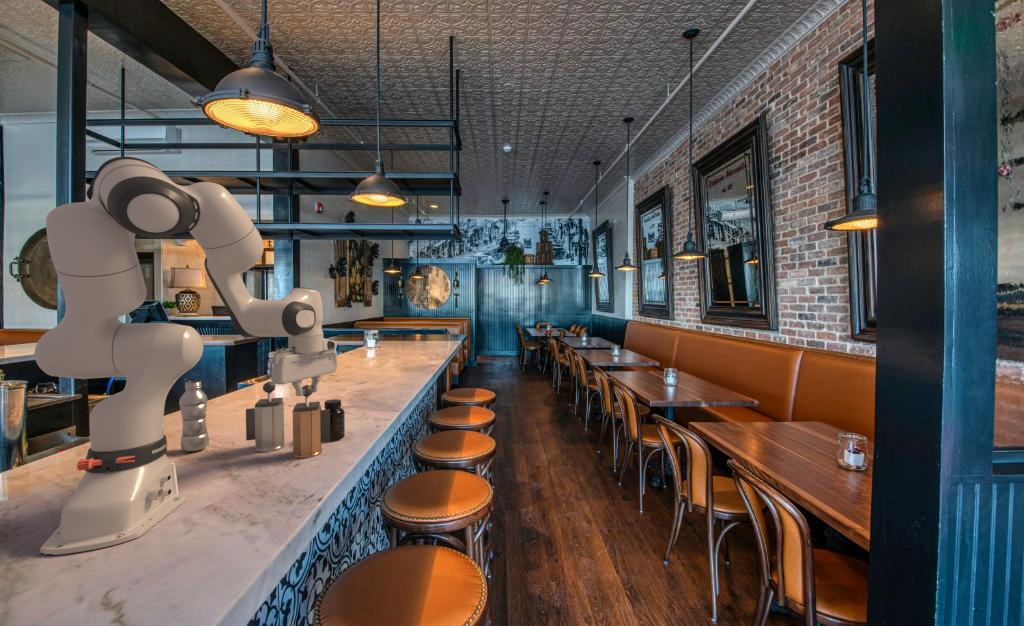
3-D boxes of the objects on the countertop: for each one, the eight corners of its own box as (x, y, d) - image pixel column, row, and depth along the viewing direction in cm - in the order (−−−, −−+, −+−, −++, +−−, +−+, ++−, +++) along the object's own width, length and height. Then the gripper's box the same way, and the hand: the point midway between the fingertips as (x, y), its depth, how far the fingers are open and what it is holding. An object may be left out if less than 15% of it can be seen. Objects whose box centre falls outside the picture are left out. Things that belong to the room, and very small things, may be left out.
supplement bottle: (316, 440, 125) (315, 402, 125) (332, 433, 132) (331, 397, 131) (334, 443, 123) (333, 404, 123) (349, 436, 130) (349, 399, 129)
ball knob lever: (314, 433, 117) (313, 383, 116) (313, 437, 114) (312, 385, 113) (302, 434, 116) (301, 384, 115) (300, 438, 113) (299, 386, 112)
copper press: (331, 446, 121) (330, 400, 120) (329, 455, 114) (328, 406, 113) (295, 450, 117) (294, 402, 117) (291, 460, 110) (290, 409, 110)
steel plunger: (262, 433, 117) (261, 383, 117) (264, 429, 120) (264, 381, 120) (275, 431, 119) (274, 382, 118) (277, 428, 122) (276, 380, 121)
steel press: (243, 454, 114) (242, 405, 114) (250, 445, 121) (249, 399, 121) (282, 450, 117) (281, 402, 117) (286, 441, 124) (285, 396, 124)
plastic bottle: (197, 454, 114) (195, 384, 113) (174, 454, 114) (172, 384, 113) (214, 446, 120) (213, 379, 120) (192, 446, 121) (191, 379, 120)
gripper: (283, 350, 103) (284, 403, 104) (340, 342, 123) (341, 387, 123) (264, 349, 105) (265, 401, 106) (324, 341, 125) (324, 385, 125)
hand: (306, 393), depth 114 cm, fingers closed on ball knob lever, 3 cm apart
